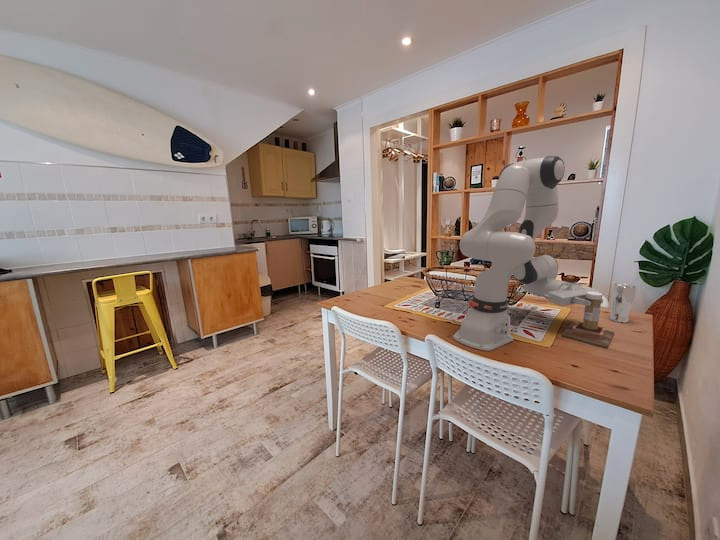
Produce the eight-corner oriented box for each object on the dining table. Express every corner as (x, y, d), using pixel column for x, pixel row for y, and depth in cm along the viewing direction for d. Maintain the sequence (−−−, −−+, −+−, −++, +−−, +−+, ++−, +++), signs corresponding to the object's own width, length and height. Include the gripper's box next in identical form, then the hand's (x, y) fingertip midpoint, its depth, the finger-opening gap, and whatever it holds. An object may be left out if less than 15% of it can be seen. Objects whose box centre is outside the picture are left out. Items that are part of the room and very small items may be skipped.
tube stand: (607, 348, 95) (608, 341, 94) (561, 336, 104) (562, 329, 104) (613, 333, 105) (615, 326, 105) (571, 323, 115) (572, 317, 114)
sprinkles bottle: (579, 325, 106) (583, 291, 104) (591, 325, 106) (595, 290, 104) (588, 330, 102) (592, 294, 99) (601, 330, 102) (606, 294, 99)
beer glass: (634, 323, 114) (642, 287, 111) (617, 323, 114) (624, 287, 111) (619, 316, 121) (626, 283, 118) (603, 316, 121) (609, 283, 118)
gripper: (540, 287, 110) (576, 297, 97) (578, 281, 116) (616, 291, 103) (538, 302, 112) (573, 314, 99) (576, 296, 118) (613, 307, 105)
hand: (596, 302), depth 101 cm, fingers closed on sprinkles bottle, 4 cm apart
